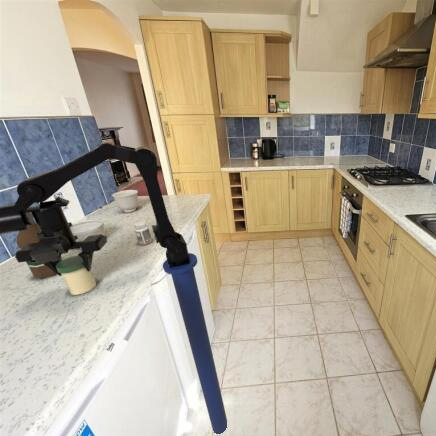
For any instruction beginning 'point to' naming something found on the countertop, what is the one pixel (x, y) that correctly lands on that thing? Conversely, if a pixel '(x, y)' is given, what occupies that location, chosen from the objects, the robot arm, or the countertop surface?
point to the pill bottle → (142, 233)
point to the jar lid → (70, 264)
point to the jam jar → (79, 281)
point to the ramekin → (87, 229)
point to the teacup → (127, 200)
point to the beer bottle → (29, 238)
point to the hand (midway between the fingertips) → (75, 272)
